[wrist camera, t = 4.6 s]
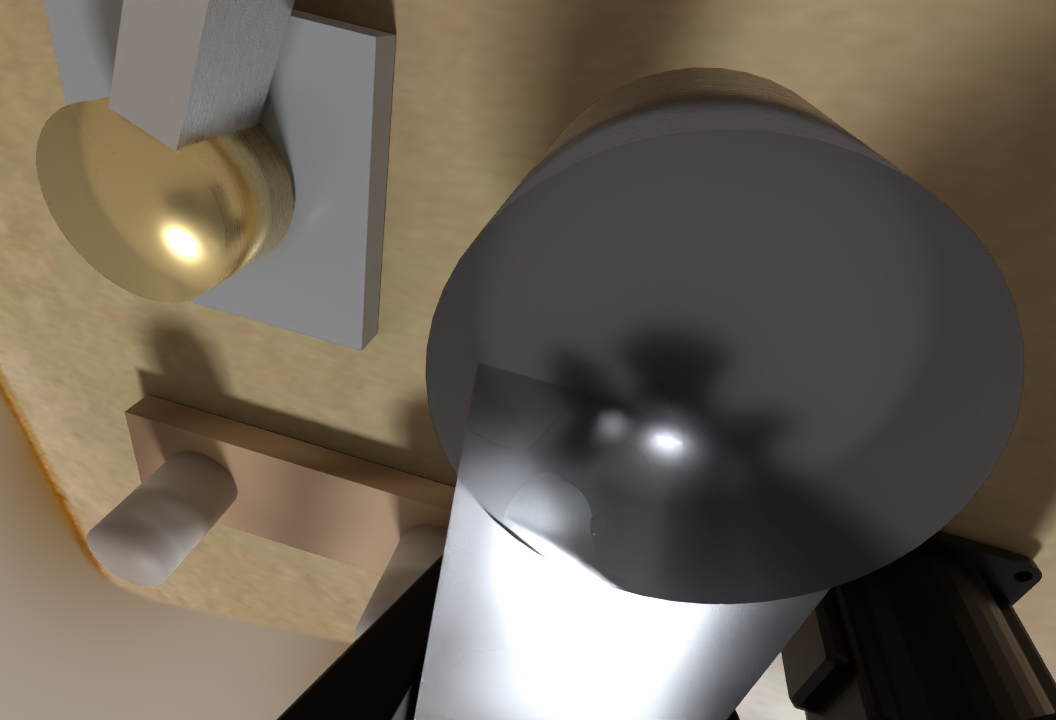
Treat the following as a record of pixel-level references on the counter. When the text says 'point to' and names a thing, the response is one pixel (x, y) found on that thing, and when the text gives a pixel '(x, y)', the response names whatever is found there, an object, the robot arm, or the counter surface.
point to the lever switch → (174, 150)
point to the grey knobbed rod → (697, 401)
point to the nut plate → (290, 165)
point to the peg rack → (267, 502)
